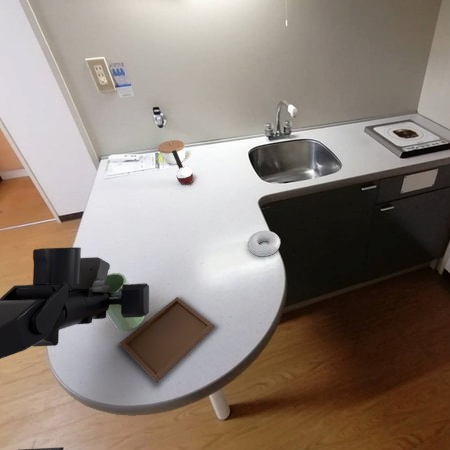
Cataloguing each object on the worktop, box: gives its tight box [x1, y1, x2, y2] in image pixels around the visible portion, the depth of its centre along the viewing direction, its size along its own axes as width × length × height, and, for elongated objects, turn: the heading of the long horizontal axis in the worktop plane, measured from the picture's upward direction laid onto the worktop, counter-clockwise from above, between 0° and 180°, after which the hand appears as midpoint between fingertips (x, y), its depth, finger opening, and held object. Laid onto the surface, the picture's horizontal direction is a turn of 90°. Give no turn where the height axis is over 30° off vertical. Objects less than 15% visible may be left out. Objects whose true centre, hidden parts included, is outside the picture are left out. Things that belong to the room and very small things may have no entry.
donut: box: [247, 230, 281, 257], centre depth 94 cm, size 10×4×10 cm
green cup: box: [105, 272, 145, 332], centre depth 66 cm, size 6×6×12 cm
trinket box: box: [157, 139, 186, 166], centre depth 134 cm, size 11×11×9 cm
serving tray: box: [118, 297, 214, 384], centre depth 71 cm, size 16×14×2 cm
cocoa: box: [172, 150, 194, 186], centre depth 120 cm, size 10×6×12 cm, turn 14°
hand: (121, 295), depth 67 cm, fingers closed on green cup, 6 cm apart
